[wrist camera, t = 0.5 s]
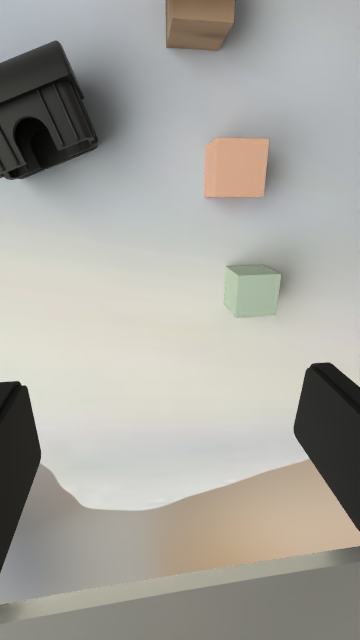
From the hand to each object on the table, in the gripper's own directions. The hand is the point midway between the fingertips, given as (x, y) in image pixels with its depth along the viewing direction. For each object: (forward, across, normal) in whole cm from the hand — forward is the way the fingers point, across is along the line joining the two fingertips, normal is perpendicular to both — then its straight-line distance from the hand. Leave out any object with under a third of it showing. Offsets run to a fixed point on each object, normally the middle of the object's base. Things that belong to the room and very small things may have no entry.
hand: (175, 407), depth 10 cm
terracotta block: (+27, -9, -9) cm, 30 cm away
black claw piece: (+28, +10, -13) cm, 32 cm away
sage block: (+27, -12, +4) cm, 30 cm away
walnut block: (+27, -5, -22) cm, 36 cm away
